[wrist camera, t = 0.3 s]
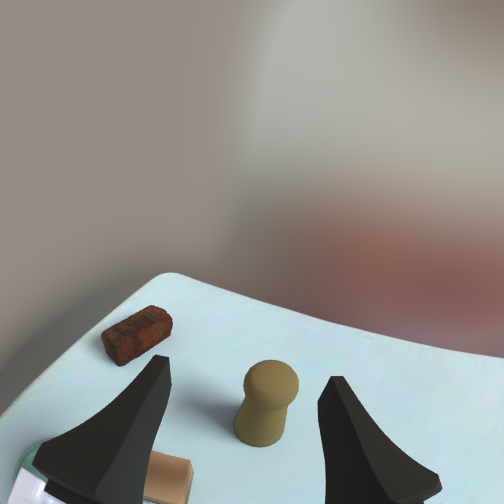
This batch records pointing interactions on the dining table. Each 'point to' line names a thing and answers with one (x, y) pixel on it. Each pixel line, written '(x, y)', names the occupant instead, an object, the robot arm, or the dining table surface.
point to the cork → (265, 403)
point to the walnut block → (168, 479)
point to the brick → (137, 334)
